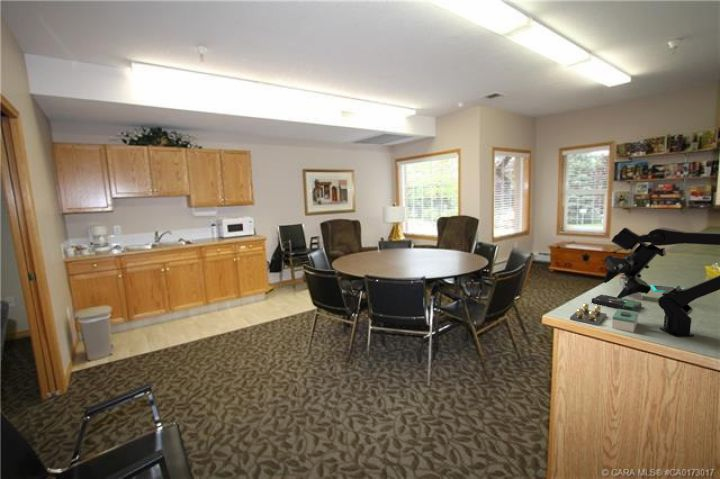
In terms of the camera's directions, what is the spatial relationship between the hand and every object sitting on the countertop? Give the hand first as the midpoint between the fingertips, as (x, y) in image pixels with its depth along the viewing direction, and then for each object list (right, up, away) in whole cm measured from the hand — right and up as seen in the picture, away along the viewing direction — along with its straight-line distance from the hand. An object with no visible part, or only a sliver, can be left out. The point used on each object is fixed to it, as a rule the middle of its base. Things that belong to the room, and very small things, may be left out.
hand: (611, 290), depth 128 cm
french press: (+28, -7, +26) cm, 39 cm away
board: (0, -12, -6) cm, 14 cm away
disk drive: (+13, -9, +15) cm, 22 cm away
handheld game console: (+54, -6, +32) cm, 63 cm away
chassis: (-7, -11, +2) cm, 13 cm away
